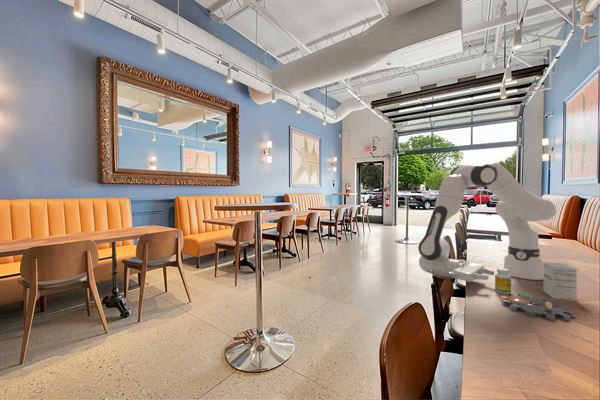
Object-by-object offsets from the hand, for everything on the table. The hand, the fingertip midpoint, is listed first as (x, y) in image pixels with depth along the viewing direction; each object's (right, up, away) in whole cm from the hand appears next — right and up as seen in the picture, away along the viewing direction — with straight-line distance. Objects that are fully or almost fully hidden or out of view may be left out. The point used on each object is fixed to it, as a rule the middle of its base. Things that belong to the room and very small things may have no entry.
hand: (491, 275), depth 110 cm
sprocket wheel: (+2, -6, -19) cm, 20 cm away
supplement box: (+21, -6, -9) cm, 23 cm away
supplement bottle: (+3, -6, -3) cm, 7 cm away
